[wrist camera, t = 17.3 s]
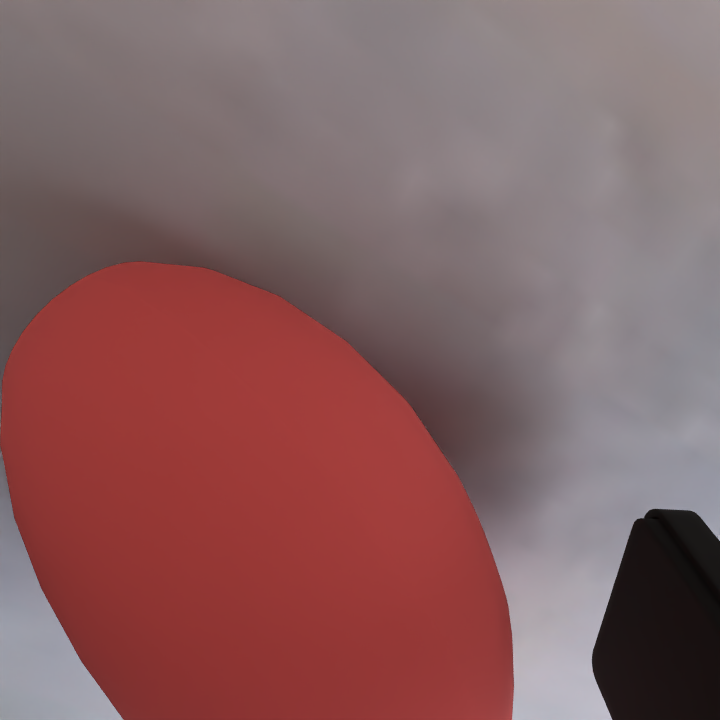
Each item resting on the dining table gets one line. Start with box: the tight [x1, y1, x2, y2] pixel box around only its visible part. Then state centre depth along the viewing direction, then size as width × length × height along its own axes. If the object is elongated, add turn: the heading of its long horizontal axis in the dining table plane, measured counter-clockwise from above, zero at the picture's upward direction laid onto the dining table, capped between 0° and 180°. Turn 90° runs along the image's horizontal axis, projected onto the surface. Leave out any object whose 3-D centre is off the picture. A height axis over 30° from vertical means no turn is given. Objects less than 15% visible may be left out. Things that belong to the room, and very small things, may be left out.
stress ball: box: [0, 261, 514, 720], centre depth 9 cm, size 5×9×6 cm, turn 11°
